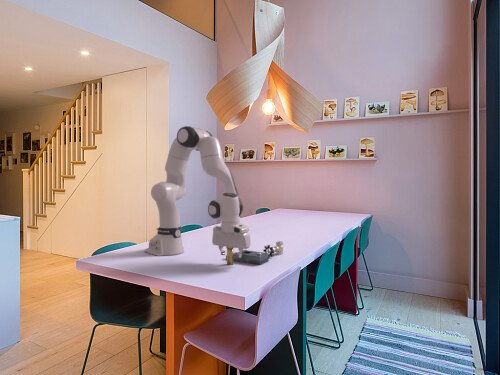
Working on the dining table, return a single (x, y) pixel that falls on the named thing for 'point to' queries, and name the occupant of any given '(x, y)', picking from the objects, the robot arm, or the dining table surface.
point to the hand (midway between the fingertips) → (231, 256)
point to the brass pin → (229, 255)
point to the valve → (274, 249)
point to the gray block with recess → (251, 257)
